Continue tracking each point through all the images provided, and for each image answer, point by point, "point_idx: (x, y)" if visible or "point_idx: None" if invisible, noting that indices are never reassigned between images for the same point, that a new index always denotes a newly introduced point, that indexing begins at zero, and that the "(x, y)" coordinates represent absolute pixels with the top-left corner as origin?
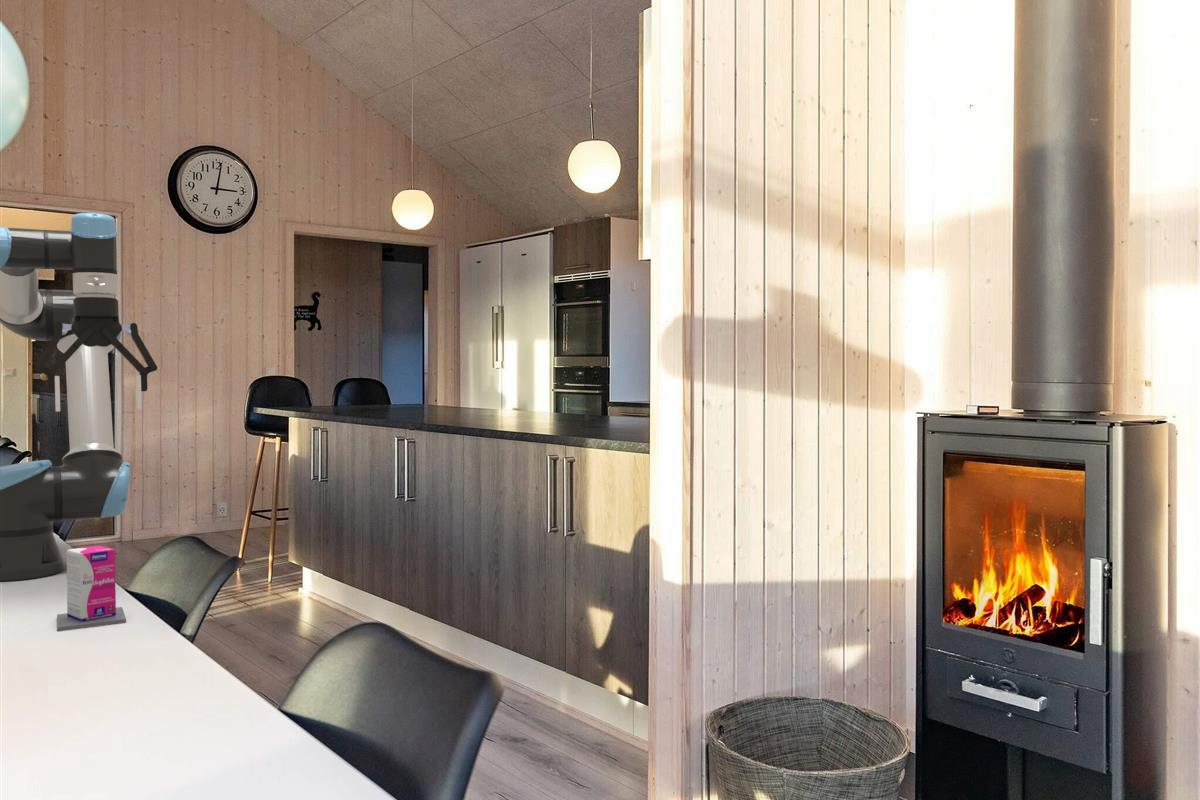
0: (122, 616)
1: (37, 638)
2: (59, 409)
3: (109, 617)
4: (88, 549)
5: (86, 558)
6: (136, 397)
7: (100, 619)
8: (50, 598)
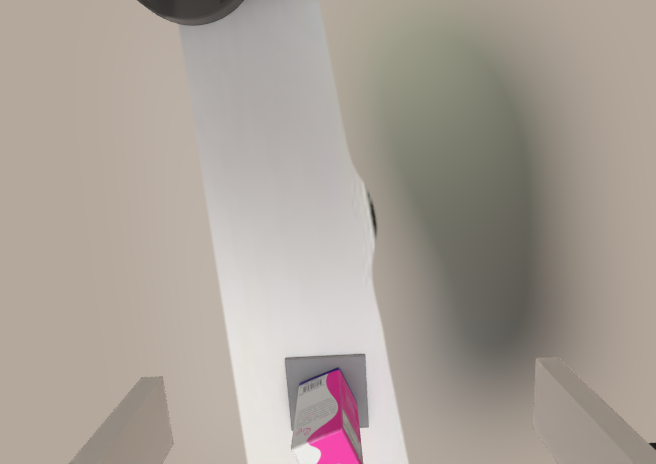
0: (364, 412)
1: (273, 449)
2: (166, 451)
3: None
4: (324, 461)
5: None
6: (569, 434)
7: None
8: (264, 219)
